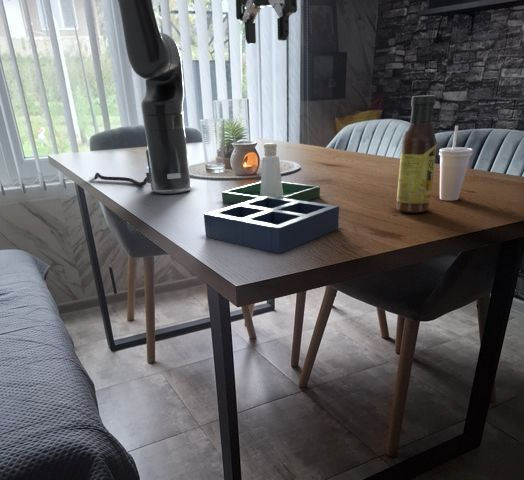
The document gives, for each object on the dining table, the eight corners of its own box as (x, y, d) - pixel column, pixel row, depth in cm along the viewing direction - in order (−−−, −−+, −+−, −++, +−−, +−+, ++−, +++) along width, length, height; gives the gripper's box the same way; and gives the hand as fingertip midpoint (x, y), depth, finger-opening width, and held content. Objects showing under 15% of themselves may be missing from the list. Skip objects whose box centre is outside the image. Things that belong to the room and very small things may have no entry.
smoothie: (428, 196, 104) (437, 125, 97) (457, 194, 104) (468, 123, 98) (440, 202, 98) (450, 127, 92) (470, 201, 99) (483, 126, 92)
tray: (222, 202, 107) (221, 191, 106) (267, 189, 117) (267, 180, 116) (276, 211, 98) (275, 199, 97) (319, 196, 108) (320, 186, 107)
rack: (205, 237, 84) (203, 213, 82) (267, 216, 95) (266, 195, 93) (279, 254, 74) (278, 228, 72) (338, 229, 85) (339, 205, 83)
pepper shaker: (288, 195, 108) (287, 142, 103) (277, 200, 104) (275, 145, 98) (266, 194, 110) (264, 141, 105) (255, 199, 106) (252, 145, 101)
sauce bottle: (430, 214, 91) (445, 95, 81) (396, 214, 92) (407, 97, 82) (427, 206, 96) (441, 94, 87) (394, 206, 98) (405, 95, 88)
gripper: (305, -63, 91) (304, 39, 99) (249, -49, 99) (253, 45, 107) (279, -69, 86) (281, 39, 94) (223, -54, 94) (229, 44, 102)
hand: (266, 42), depth 100 cm, fingers open, 8 cm apart
